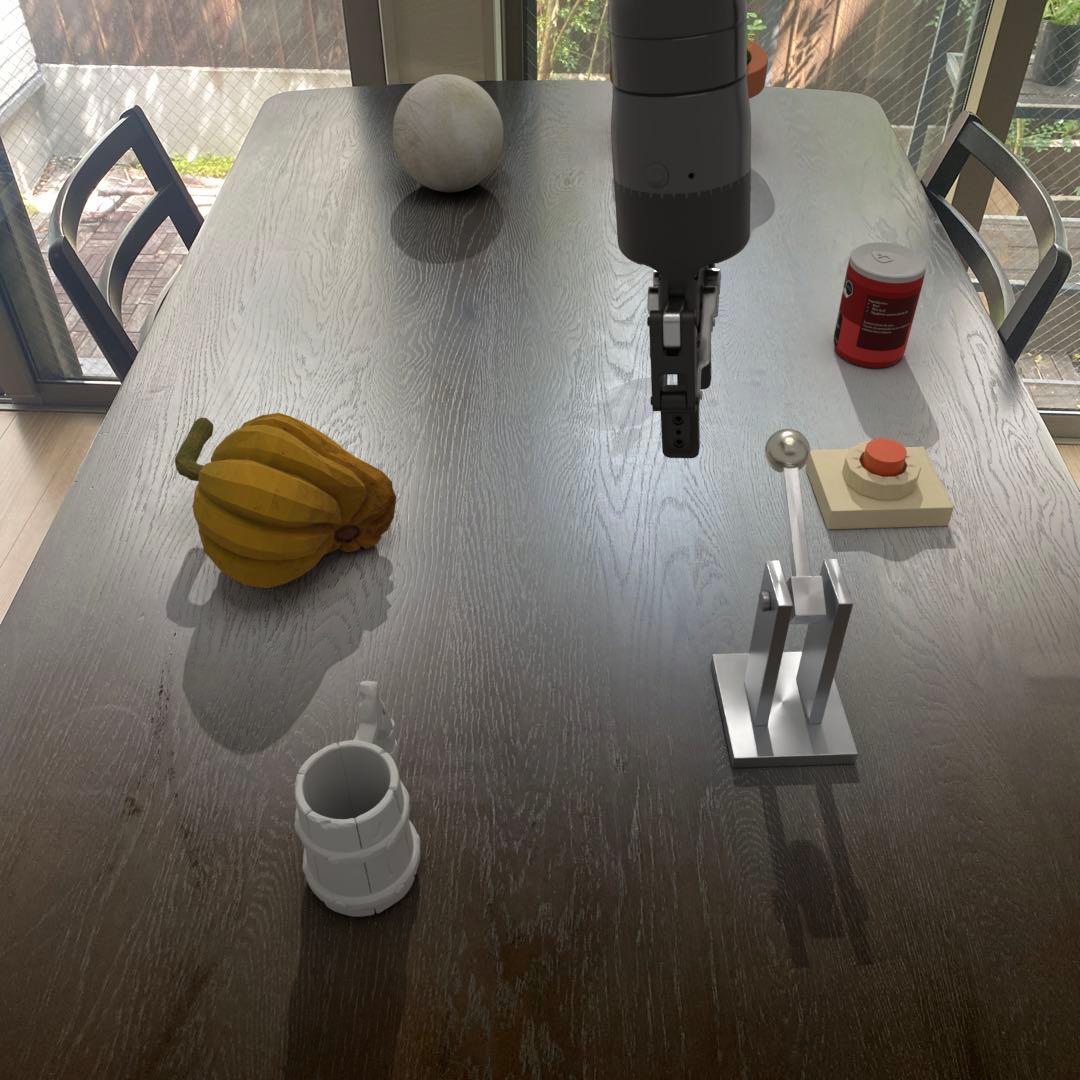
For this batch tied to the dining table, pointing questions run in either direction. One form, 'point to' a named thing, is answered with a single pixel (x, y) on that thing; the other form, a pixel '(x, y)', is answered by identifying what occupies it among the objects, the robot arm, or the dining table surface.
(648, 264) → the robot arm
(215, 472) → the pumpkin
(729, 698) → the metal lever switch
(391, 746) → the mug
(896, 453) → the button
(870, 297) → the canned food
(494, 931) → the dining table surface
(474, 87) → the decorative sphere
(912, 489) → the button box
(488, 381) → the dining table surface
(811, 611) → the grey lever handle
